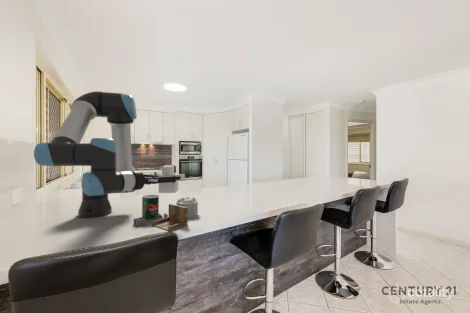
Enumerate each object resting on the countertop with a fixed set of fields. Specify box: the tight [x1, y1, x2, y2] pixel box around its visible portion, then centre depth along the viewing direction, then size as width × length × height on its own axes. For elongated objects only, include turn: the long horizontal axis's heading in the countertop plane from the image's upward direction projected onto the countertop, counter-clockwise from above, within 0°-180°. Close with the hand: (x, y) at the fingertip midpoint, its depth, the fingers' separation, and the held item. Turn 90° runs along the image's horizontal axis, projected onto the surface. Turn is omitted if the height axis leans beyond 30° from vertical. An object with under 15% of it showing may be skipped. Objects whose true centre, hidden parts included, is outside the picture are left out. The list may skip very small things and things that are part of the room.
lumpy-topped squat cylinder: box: [176, 196, 199, 218], centre depth 117 cm, size 10×13×9 cm
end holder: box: [151, 203, 189, 232], centre depth 98 cm, size 12×10×8 cm
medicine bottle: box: [158, 164, 179, 194], centre depth 98 cm, size 7×7×12 cm
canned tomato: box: [141, 194, 160, 221], centre depth 109 cm, size 8×8×11 cm
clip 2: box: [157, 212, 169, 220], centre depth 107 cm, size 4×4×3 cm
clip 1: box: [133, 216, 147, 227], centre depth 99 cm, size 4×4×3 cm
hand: (176, 176), depth 101 cm, fingers closed on medicine bottle, 10 cm apart
